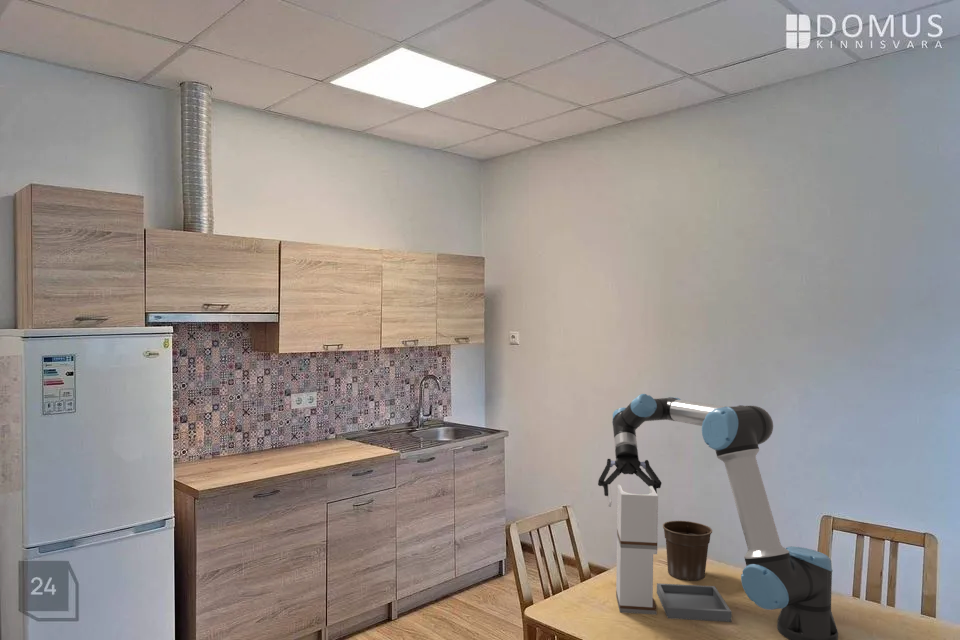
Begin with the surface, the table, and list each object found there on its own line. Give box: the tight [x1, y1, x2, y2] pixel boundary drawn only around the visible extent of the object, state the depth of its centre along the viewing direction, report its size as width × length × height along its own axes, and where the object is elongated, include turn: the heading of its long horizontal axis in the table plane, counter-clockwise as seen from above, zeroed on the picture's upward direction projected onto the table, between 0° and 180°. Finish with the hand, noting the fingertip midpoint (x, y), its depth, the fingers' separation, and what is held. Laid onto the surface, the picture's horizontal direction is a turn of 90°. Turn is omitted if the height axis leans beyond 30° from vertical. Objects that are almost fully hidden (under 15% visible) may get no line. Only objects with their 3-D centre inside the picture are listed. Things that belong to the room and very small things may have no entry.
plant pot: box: [662, 520, 713, 582], centre depth 223 cm, size 16×16×16 cm
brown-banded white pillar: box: [615, 484, 659, 615], centre depth 198 cm, size 11×11×35 cm
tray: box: [656, 583, 732, 623], centre depth 198 cm, size 18×18×3 cm
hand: (631, 505), depth 208 cm, fingers open, 13 cm apart
